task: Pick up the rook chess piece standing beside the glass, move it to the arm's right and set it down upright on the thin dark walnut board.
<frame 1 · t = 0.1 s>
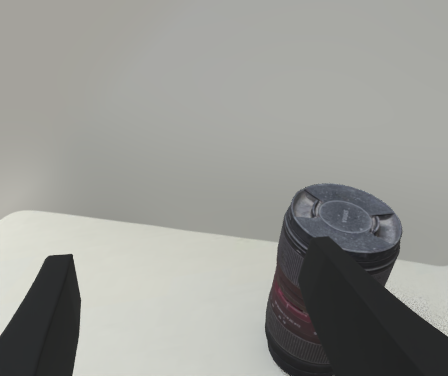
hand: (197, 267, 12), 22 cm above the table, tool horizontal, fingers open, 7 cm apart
camera lens: (303, 349, 35), on the table
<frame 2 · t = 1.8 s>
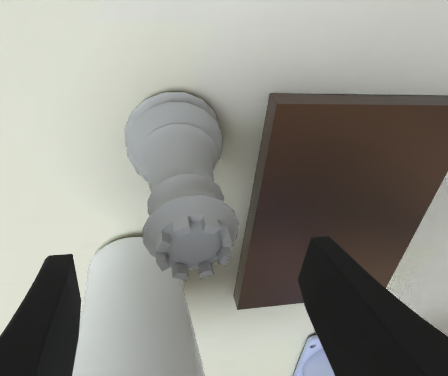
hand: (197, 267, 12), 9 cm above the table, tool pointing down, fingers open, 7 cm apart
walnut board: (334, 209, 24), on the table
drinking glass: (134, 261, 24), on the table
rook chess piece: (172, 129, 19), on the table
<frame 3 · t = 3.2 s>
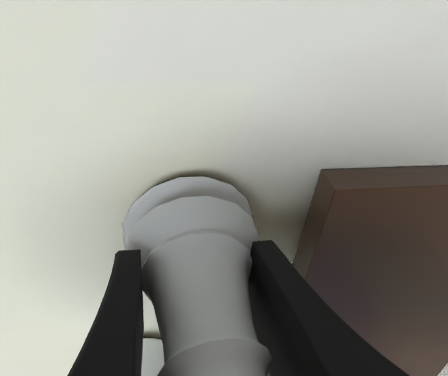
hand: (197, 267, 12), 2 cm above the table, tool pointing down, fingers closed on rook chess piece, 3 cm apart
walnut board: (387, 292, 19), on the table
drinking glass: (136, 360, 19), on the table
rook chess piece: (187, 216, 14), on the table, touching gripper
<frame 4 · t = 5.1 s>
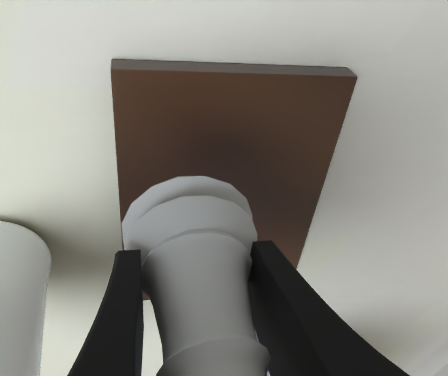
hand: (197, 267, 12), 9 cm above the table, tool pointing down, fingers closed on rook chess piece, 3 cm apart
walnut board: (220, 193, 22), on the table
drinking glass: (2, 248, 22), on the table
rook chess piece: (186, 215, 14), point 7 cm above the table, touching gripper
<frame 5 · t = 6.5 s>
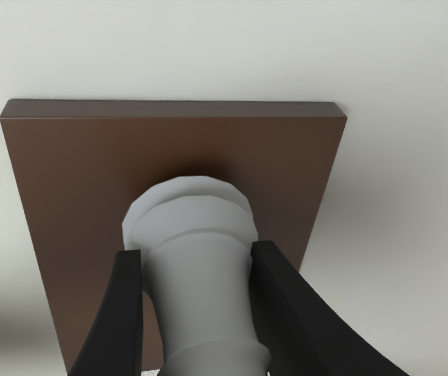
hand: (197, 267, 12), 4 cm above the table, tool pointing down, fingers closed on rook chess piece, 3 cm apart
walnut board: (178, 254, 18), on the table
rook chess piece: (187, 215, 14), point 2 cm above the table, touching gripper
when the fingers open (3 cm above the table, at t = 7.1 s): rook chess piece stays where it is, resting on walnut board.
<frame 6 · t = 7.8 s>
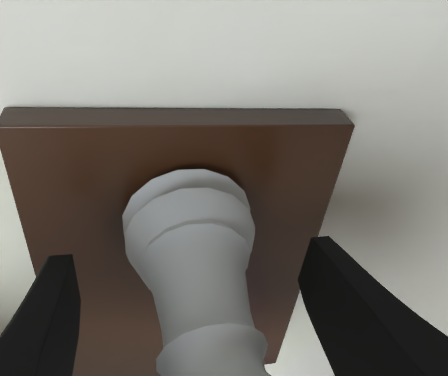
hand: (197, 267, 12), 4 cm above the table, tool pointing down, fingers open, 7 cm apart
walnut board: (179, 263, 17), on the table
rook chess piece: (185, 208, 14), point 1 cm above the table, touching walnut board
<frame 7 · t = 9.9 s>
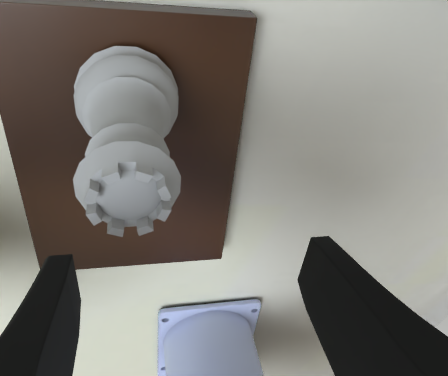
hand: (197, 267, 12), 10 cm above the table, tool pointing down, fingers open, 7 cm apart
walnut board: (131, 153, 21), on the table
rook chess piece: (127, 90, 18), point 1 cm above the table, touching walnut board
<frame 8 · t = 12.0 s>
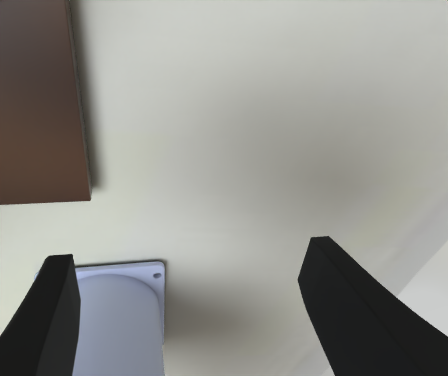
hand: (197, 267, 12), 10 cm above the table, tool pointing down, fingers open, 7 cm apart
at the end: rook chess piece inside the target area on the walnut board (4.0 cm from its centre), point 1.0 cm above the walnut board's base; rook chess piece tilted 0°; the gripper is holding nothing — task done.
